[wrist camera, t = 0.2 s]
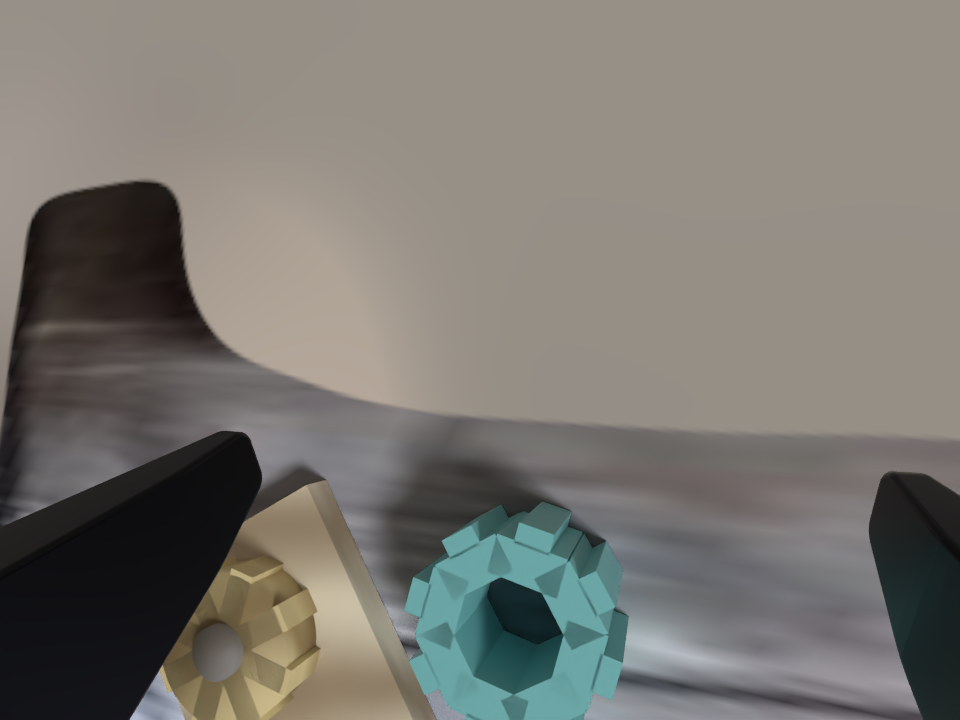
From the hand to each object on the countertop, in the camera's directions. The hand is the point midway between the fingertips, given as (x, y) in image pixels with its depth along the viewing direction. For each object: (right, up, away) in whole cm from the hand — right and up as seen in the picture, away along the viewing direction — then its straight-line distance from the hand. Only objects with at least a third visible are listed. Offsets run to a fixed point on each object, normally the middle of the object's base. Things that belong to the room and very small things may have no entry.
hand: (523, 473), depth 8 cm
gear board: (-8, -13, +17) cm, 23 cm away
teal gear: (+1, -8, +14) cm, 16 cm away
